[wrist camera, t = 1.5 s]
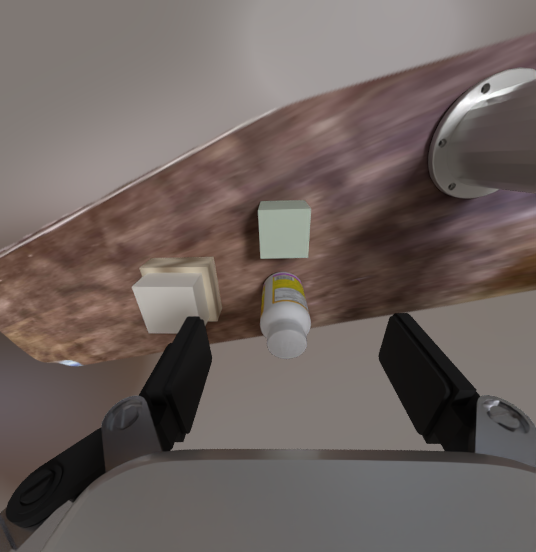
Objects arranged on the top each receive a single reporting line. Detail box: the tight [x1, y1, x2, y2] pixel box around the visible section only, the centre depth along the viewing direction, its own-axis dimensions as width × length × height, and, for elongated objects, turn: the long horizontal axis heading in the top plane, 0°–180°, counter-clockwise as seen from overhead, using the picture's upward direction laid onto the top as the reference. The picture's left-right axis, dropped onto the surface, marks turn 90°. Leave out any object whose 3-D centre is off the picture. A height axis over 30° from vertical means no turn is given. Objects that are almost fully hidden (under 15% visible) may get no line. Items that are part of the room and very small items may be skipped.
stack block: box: [258, 200, 311, 259], centre depth 28 cm, size 6×6×6 cm
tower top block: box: [132, 273, 210, 333], centre depth 31 cm, size 8×8×4 cm
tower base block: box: [140, 257, 222, 321], centre depth 35 cm, size 10×10×4 cm
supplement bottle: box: [260, 272, 311, 359], centre depth 30 cm, size 7×7×13 cm
